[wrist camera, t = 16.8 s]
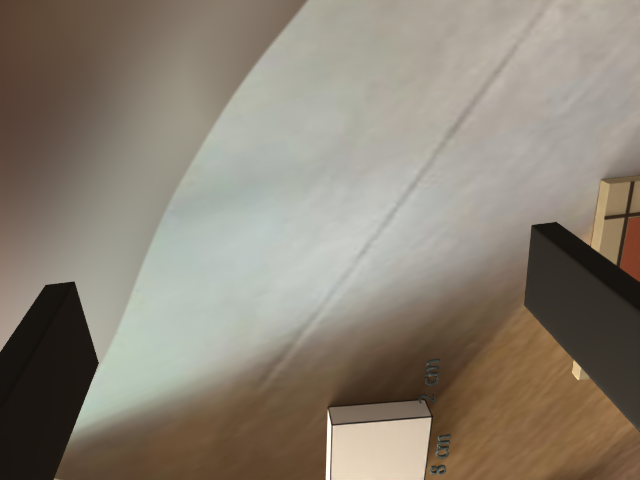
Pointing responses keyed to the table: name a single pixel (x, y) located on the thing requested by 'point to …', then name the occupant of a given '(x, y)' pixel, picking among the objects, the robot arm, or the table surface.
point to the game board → (617, 230)
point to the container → (382, 439)
